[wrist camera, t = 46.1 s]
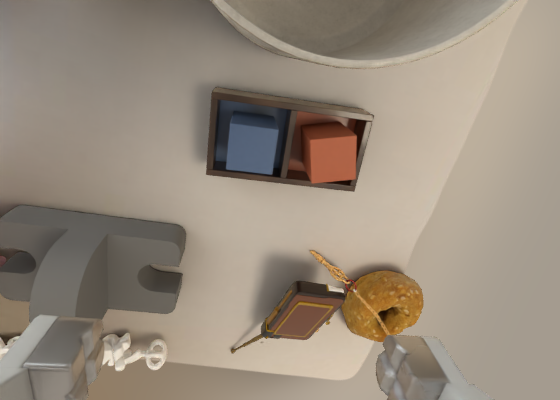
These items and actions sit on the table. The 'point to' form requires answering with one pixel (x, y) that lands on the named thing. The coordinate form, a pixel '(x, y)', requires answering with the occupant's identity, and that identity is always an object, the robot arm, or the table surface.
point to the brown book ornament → (306, 308)
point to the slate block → (252, 143)
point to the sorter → (281, 134)
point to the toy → (2, 260)
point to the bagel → (382, 304)
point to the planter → (359, 27)
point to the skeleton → (116, 351)
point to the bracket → (89, 263)
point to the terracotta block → (328, 152)
